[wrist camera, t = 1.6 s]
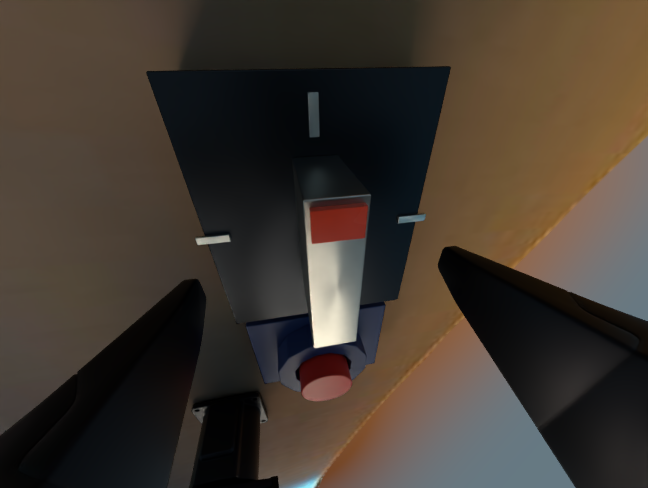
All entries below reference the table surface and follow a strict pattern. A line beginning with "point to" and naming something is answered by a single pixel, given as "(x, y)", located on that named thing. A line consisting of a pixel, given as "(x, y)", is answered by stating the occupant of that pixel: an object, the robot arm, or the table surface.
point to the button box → (310, 345)
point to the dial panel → (277, 168)
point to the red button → (324, 377)
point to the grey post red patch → (331, 245)
